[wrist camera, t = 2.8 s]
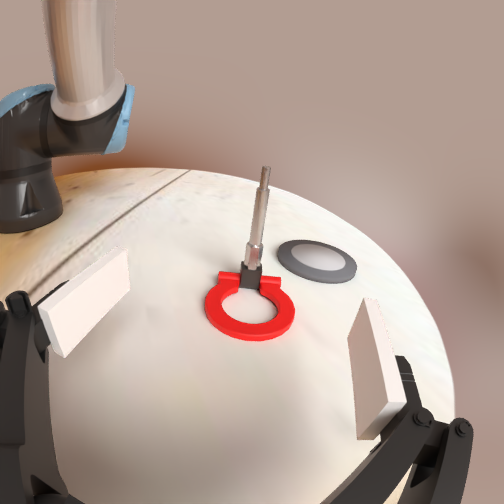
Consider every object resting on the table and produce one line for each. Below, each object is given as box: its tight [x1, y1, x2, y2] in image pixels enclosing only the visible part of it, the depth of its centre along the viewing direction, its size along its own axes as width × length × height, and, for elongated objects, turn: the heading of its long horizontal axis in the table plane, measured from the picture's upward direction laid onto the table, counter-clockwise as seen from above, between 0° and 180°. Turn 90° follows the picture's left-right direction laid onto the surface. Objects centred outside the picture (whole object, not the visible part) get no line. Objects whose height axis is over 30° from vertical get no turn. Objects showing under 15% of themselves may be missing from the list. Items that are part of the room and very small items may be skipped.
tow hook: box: [205, 166, 295, 341], centre depth 24 cm, size 8×13×9 cm
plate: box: [278, 240, 357, 283], centre depth 37 cm, size 11×11×1 cm
